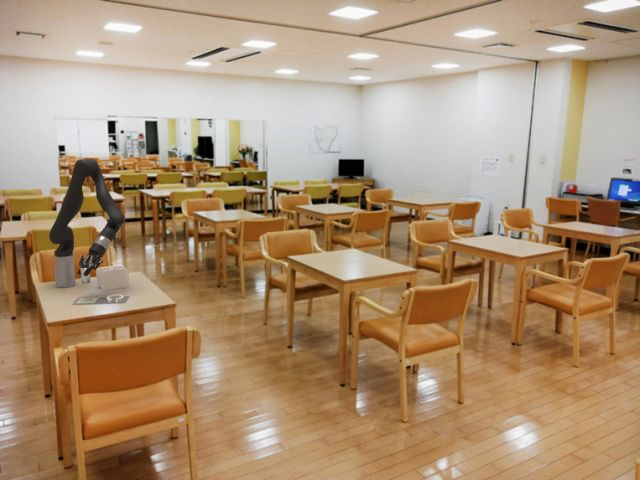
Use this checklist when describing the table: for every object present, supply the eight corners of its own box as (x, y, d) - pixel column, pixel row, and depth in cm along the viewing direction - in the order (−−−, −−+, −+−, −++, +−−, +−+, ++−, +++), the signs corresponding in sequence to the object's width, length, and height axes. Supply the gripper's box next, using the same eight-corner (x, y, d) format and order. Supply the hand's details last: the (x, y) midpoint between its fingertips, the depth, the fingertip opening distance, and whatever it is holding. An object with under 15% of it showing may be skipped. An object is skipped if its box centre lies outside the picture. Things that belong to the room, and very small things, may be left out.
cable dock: (71, 307, 263) (71, 302, 262) (79, 299, 275) (79, 294, 275) (124, 305, 266) (124, 300, 266) (130, 297, 278) (130, 293, 278)
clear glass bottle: (80, 284, 266) (78, 264, 264) (83, 281, 270) (81, 262, 268) (89, 283, 266) (87, 264, 264) (91, 281, 270) (89, 262, 268)
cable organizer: (100, 292, 287) (98, 271, 285) (97, 287, 296) (95, 267, 293) (129, 288, 294) (128, 268, 292) (125, 284, 303) (124, 264, 301)
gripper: (85, 240, 274) (67, 269, 266) (105, 243, 267) (86, 272, 259) (95, 249, 279) (77, 277, 271) (114, 252, 273) (96, 280, 265)
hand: (82, 274), depth 265 cm, fingers closed on clear glass bottle, 4 cm apart
